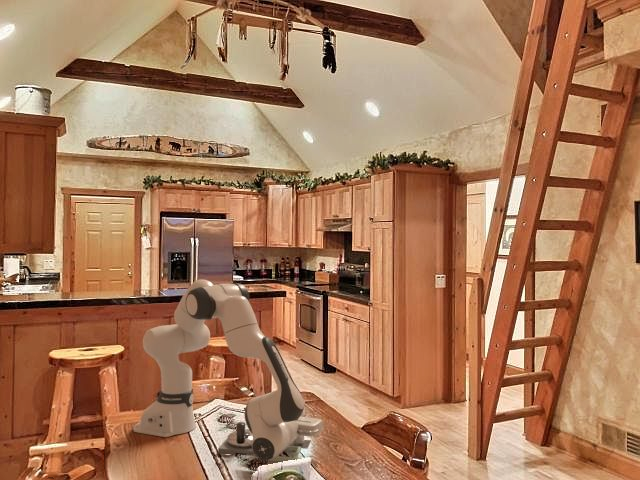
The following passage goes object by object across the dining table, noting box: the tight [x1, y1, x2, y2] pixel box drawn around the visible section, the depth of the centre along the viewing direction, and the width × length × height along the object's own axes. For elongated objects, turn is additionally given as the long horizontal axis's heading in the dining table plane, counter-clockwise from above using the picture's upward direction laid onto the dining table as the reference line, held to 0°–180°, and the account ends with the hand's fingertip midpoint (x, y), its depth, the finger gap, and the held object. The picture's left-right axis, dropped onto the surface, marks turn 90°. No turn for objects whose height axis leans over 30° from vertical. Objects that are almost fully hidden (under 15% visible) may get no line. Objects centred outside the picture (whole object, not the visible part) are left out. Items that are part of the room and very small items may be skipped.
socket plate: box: [289, 439, 312, 449], centre depth 170 cm, size 7×7×1 cm
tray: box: [268, 446, 302, 462], centre depth 160 cm, size 9×9×2 cm
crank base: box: [217, 438, 255, 455], centre depth 168 cm, size 14×14×2 cm
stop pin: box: [294, 399, 306, 443], centre depth 170 cm, size 4×4×14 cm
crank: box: [226, 421, 253, 448], centre depth 168 cm, size 12×12×8 cm
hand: (300, 415), depth 171 cm, fingers closed on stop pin, 4 cm apart
